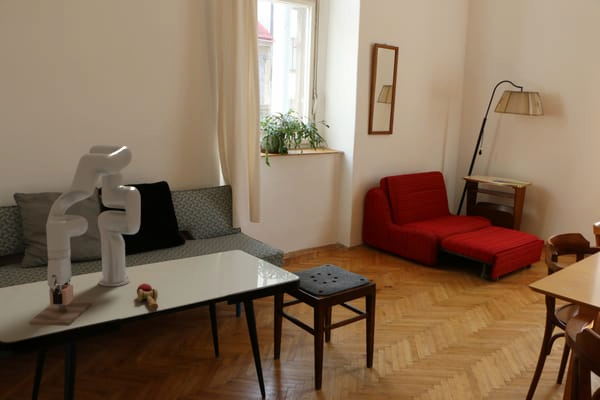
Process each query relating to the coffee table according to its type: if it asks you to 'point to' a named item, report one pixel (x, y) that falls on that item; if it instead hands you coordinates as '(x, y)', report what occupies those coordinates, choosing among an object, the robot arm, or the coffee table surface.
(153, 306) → the kendama
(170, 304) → the coffee table surface
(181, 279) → the coffee table surface
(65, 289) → the collar
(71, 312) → the post block
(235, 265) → the coffee table surface
